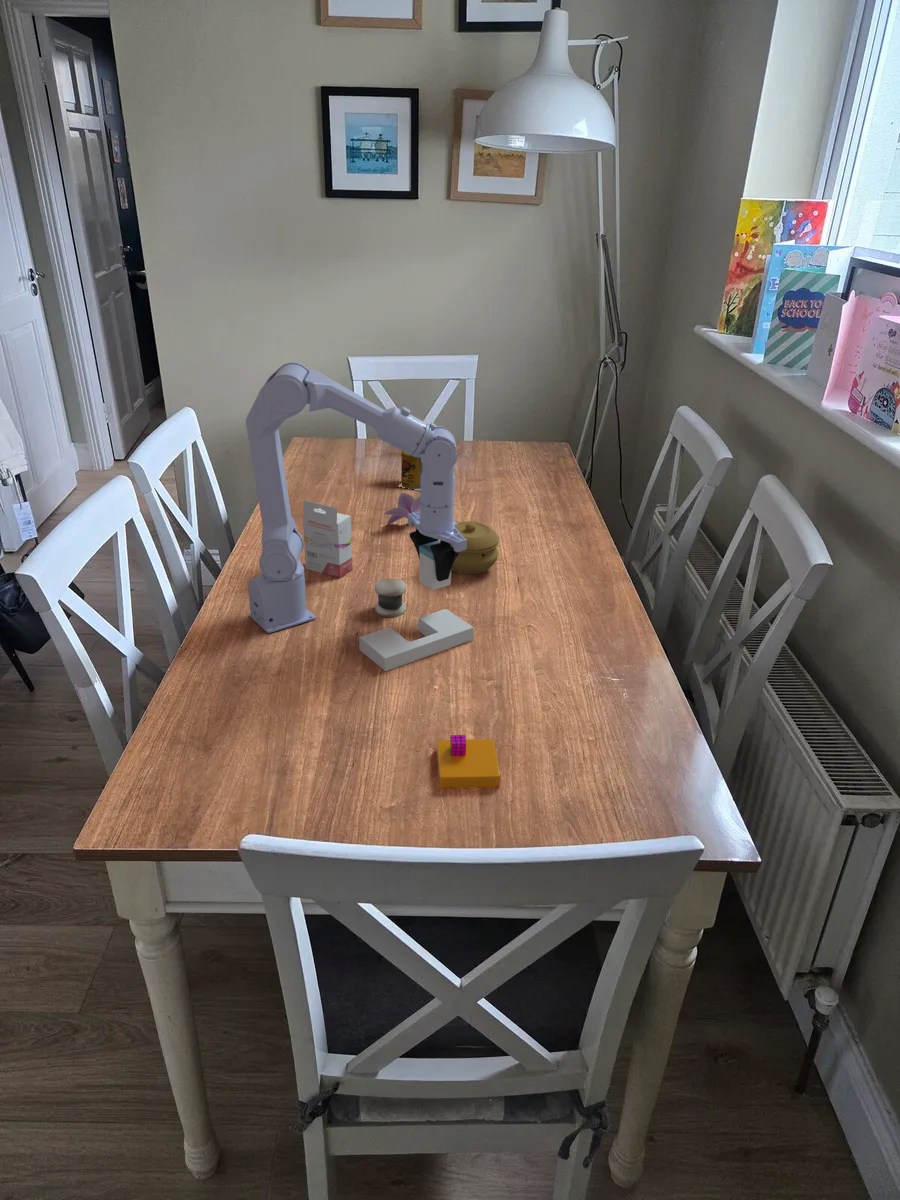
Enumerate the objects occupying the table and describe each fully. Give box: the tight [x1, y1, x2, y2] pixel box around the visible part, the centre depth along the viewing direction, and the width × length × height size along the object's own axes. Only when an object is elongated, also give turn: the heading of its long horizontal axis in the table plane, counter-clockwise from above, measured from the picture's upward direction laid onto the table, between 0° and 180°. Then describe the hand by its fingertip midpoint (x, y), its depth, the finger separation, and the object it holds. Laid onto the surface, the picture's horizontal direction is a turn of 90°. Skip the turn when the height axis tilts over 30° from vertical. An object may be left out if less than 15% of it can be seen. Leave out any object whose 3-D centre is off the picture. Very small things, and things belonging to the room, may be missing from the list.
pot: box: [451, 521, 500, 575], centre depth 163 cm, size 12×12×10 cm
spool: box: [374, 578, 407, 618], centre depth 148 cm, size 6×6×5 cm
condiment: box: [400, 450, 423, 491], centre depth 206 cm, size 7×8×12 cm
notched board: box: [358, 608, 475, 672], centre depth 137 cm, size 18×8×2 cm, turn 127°
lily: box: [383, 492, 420, 531], centre depth 181 cm, size 12×12×10 cm
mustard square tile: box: [435, 734, 502, 789], centre depth 109 cm, size 8×8×4 cm
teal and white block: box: [418, 540, 452, 591], centre depth 141 cm, size 4×4×7 cm
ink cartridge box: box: [302, 499, 353, 579], centre depth 159 cm, size 9×5×15 cm, turn 62°
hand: (435, 574), depth 142 cm, fingers closed on teal and white block, 4 cm apart
